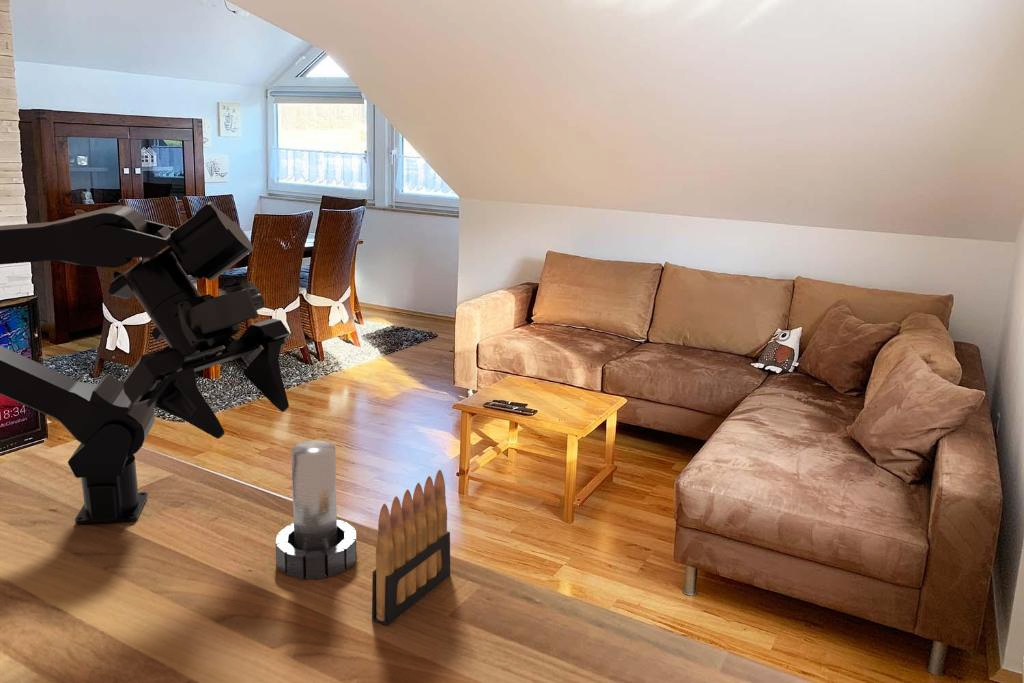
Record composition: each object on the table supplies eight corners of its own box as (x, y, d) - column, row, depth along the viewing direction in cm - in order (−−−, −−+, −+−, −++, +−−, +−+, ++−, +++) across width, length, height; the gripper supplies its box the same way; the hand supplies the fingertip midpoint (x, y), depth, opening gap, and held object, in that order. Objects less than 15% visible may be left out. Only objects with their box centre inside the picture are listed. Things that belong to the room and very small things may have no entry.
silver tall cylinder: (296, 548, 93) (292, 441, 89) (337, 545, 93) (335, 439, 90) (293, 570, 88) (289, 458, 85) (337, 567, 89) (335, 457, 86)
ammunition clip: (386, 627, 80) (386, 510, 76) (371, 620, 81) (369, 505, 77) (450, 575, 89) (452, 468, 85) (436, 569, 90) (437, 464, 86)
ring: (279, 540, 94) (279, 520, 93) (355, 536, 96) (355, 516, 95) (274, 581, 86) (273, 559, 86) (356, 575, 88) (356, 554, 87)
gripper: (131, 275, 81) (222, 408, 79) (274, 248, 97) (353, 359, 95) (86, 341, 87) (170, 467, 85) (228, 306, 102) (301, 411, 100)
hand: (255, 422), depth 91 cm, fingers open, 9 cm apart
